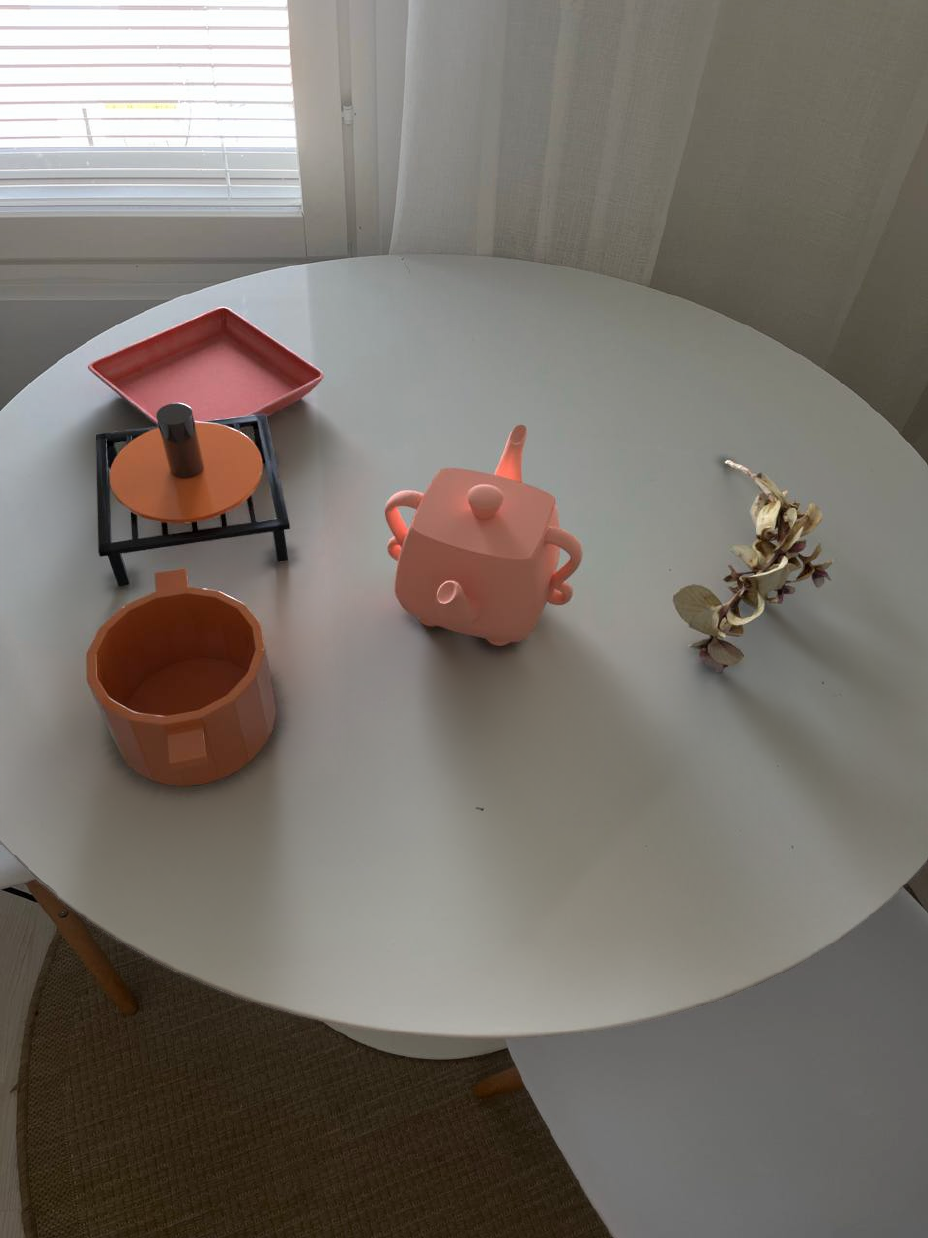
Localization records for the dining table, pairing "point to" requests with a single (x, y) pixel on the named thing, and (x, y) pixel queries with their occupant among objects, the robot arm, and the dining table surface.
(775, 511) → the artificial flower
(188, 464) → the lid
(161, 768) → the pot
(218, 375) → the plant saucer
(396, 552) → the teapot
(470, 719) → the dining table surface
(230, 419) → the rack
